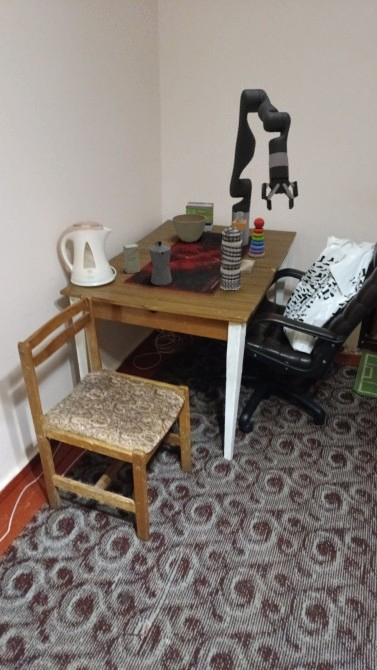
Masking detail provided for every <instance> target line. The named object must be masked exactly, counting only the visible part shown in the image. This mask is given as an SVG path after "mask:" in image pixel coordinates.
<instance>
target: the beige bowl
mask: <svg viewBox="0 0 377 670" xmlns="http://www.w3.org/2000/svg"><path fill="white" fill-rule="evenodd" d="M171 220H172V225H173V228H174V231H175V234H176V235H177V237H178V238H179V239H180V240H181V241H182V242H184V241H185V243H194V241H195V242H197V241H198V240H199V239H200V237H201V236H202V234H203V232H204V231H203V230H204V227H205V223H206V217H205V216H203V215H199V214H186V213H185V214H184V213H183V214H177V215H175V216H173V217H172V219H171Z"/></svg>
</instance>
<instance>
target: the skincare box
mask: <svg viewBox="0 0 377 670" xmlns="http://www.w3.org/2000/svg"><path fill="white" fill-rule="evenodd" d="M122 248H123V262H124V271H125V272H126V273H127V274H133V273H134V274H135V273H139V272H141V263H140V262H141V260H140V257H141V256H140V246H139V245H138V244H137V243H132V244H124V245H122Z"/></svg>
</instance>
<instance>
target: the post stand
mask: <svg viewBox="0 0 377 670" xmlns="http://www.w3.org/2000/svg"><path fill="white" fill-rule="evenodd" d="M236 223H243V212H237V216H236ZM240 231H241V232H242V235H243V230H240ZM241 240H242V238H241ZM241 250H242V251H243V248H242V249H241ZM241 254H242V255H243V252H242V253H241ZM240 258H241V259H242V257H240ZM255 264H256V260H254V259H253V260H252V259H242V261H241V262H240V268H241V270H240V271H241V274H245V275H247V274H248V275H251V274H252V271H253V269H254V267H255ZM221 267H222V265H221V266H220V268H219V272H221Z"/></svg>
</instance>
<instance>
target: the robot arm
mask: <svg viewBox="0 0 377 670" xmlns="http://www.w3.org/2000/svg"><path fill="white" fill-rule="evenodd" d="M254 113H255V114H256V113H257V117H258V119H259V120H260V121H261V122H262V128H263V130H264V131H265V132H266V133H279V136H277V137H273V138H271V139H270V140H269V141H268V180H269V181H268V182H269V183H266V182H263V183H262V184H261V190H260V191H261V200H265V201H266V209H267V210H268V211H269V212H270V211H272V210H273V208H272V198H273V196H274V195H283V194H284V195H285V196H286V197H287V198H288V210H292V209H293V208H294V207H295V204H294V203H295V202H294V201H295V198H297V197H299V187H298V181H297V180H295V181H290V172H289V171H290V170H289V167H290V166H289V165H290V164H289V163H290V162H289V157H288V139H289V138H288V137H289V132H290V129H291V124H292V118H291V115H290V113H289V112H286V111H279V110H278V108H277V107H275V106H274V105H273V104H272V102H271V99H270V97H269V96H268V94H267V92H266V90H264V89H261V88H246V89H243V90H242V92H241V94H240V100H239V112H238V126H237V133H236V142H235V148H234V156H233V157H234V160H233V166H232V167H233V168H232V172H231V177H230V181H229V197H231V198H232V199H240V198H242V199H240V201H237V202H236V203H234V204H232V206H231V224H230V225H229V227H232V223H233V221H234V220H236V216H237V212H243V220H247V227H246V229H245V230H243V235H242V242H243V244H242V246H243V247H244V246H247V245H248V244H249V234H250V232H249V231H250V215H251V214H250V213H251V204H252V193H253V183H252V179H250V178H248V177H245V178H244V177H243V178H241V175H242V173H243V171H244V170H245V169H246V168H247V166H248V165H249V163H251V162H252V160H253V158H254V156H255V151H256V146H257V140H256V137H255V135H254V133H253V131H252V128H251V127H250V124H249V122H248V114H254ZM290 187H291V188H292V189H291V190H292V191H291V190H290V189H289V188H290ZM268 188H269V189H270V191H269V192H268V195H267V189H268Z"/></svg>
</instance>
